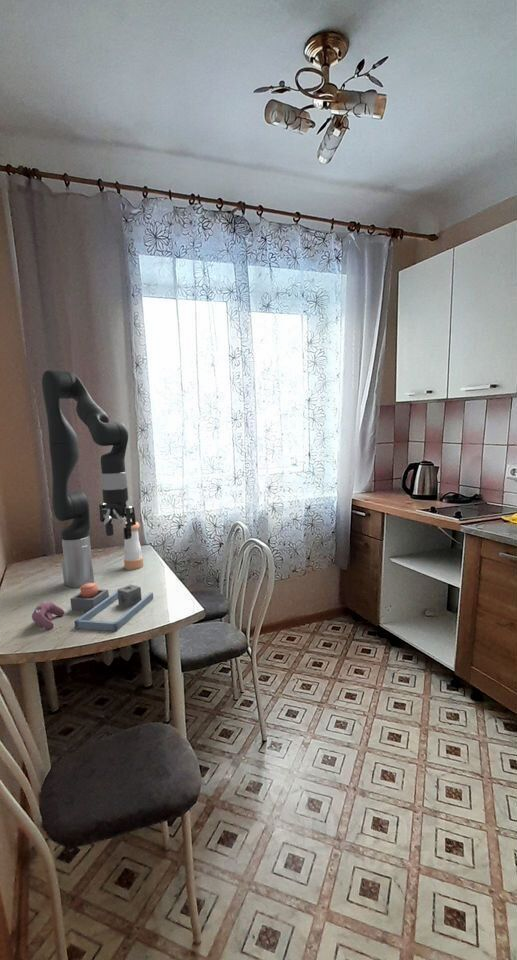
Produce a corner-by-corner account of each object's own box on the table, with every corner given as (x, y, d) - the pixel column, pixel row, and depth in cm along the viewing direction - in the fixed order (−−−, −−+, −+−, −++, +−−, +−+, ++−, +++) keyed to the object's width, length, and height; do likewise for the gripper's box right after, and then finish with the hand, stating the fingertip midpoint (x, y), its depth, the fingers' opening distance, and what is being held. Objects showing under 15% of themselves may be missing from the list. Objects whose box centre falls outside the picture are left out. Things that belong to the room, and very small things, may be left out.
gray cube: (131, 599, 140) (130, 584, 139) (141, 602, 137) (140, 587, 137) (118, 604, 136) (117, 589, 135) (128, 608, 133) (127, 592, 133)
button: (77, 598, 133) (76, 587, 133) (87, 592, 138) (86, 581, 138) (92, 599, 132) (90, 588, 132) (101, 592, 137) (100, 582, 137)
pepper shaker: (121, 567, 173) (117, 520, 170) (138, 562, 178) (134, 517, 175) (129, 571, 168) (125, 523, 165) (146, 566, 172) (142, 519, 170)
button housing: (71, 610, 133) (70, 598, 132) (87, 600, 141) (86, 588, 140) (94, 612, 131) (93, 599, 130) (109, 601, 139) (108, 589, 138)
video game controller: (53, 620, 131) (40, 601, 129) (66, 612, 131) (53, 593, 130) (39, 636, 121) (25, 615, 120) (54, 627, 121) (39, 607, 120)
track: (75, 627, 121) (74, 621, 121) (117, 596, 142) (116, 590, 142) (116, 630, 118) (115, 623, 118) (153, 598, 139) (152, 592, 139)
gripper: (90, 487, 135) (94, 537, 138) (120, 490, 128) (124, 543, 130) (109, 483, 142) (113, 531, 144) (139, 486, 134) (143, 537, 136)
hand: (118, 537), depth 137 cm, fingers open, 8 cm apart
